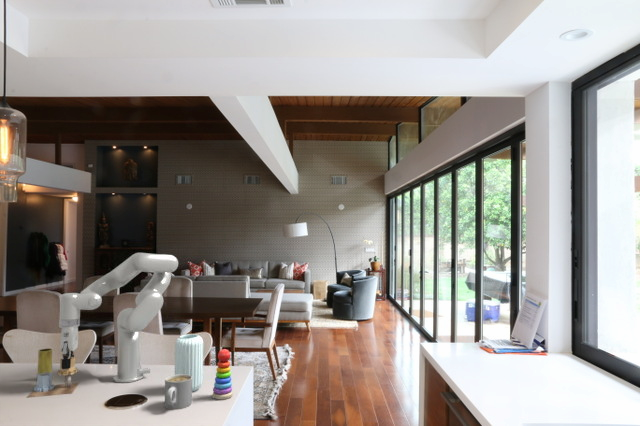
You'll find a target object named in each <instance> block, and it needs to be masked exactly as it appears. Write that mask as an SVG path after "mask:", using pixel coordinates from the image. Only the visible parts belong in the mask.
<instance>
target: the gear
mask: <svg viewBox="0 0 640 426" xmlns="http://www.w3.org/2000/svg"><path fill="white" fill-rule="evenodd" d="M42 374H48V375H45V376H42ZM55 385H56V384H54V383H53V372H52V373H41V374H39V375H37V376H36V385H35V387H34V388H33V390H34V391H36V392H42V391H43V392H45V391H48V390H52V389H54V387H55Z"/></svg>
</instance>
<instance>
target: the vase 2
mask: <svg viewBox="0 0 640 426" xmlns="http://www.w3.org/2000/svg"><path fill="white" fill-rule="evenodd" d="M178 374H187V375H191V376H192V393H193V392H196V391H197V390H199V389H200V388H201V387H202V386H203V381H204V378H203V377H204V340H203V338H202V336H200V335H199V334H196V333H195V334H194V333H190V334H181V335H180V336H179V337H178V338H177V339H176V340H175V342H174V375H178Z"/></svg>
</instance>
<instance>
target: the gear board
mask: <svg viewBox="0 0 640 426" xmlns="http://www.w3.org/2000/svg"><path fill="white" fill-rule="evenodd" d="M45 375H48V374H42V376H45ZM79 384H80V382H72V374H71V375H70V374H68V375H64V383H60V384H54V385H55V387H54V389H52V390H48V391H45V392H43V391H42V392H36V391H34V389H33V390H32V391H31V392H30V393H29V394H28V395H27V396H26V398H28V399H29V398H37V397H38V398H39V397H40V398H41V397H49V396H59V395H60V396H62V395H72V394H73V392H75V390H76V389H77V387H78V386H79Z"/></svg>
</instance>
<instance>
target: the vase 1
mask: <svg viewBox="0 0 640 426" xmlns="http://www.w3.org/2000/svg"><path fill="white" fill-rule="evenodd" d="M37 354H38V355H37V375H39V374H41V373H52V374H53V349H52V348H41V349H39V350H38V353H37Z"/></svg>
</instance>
